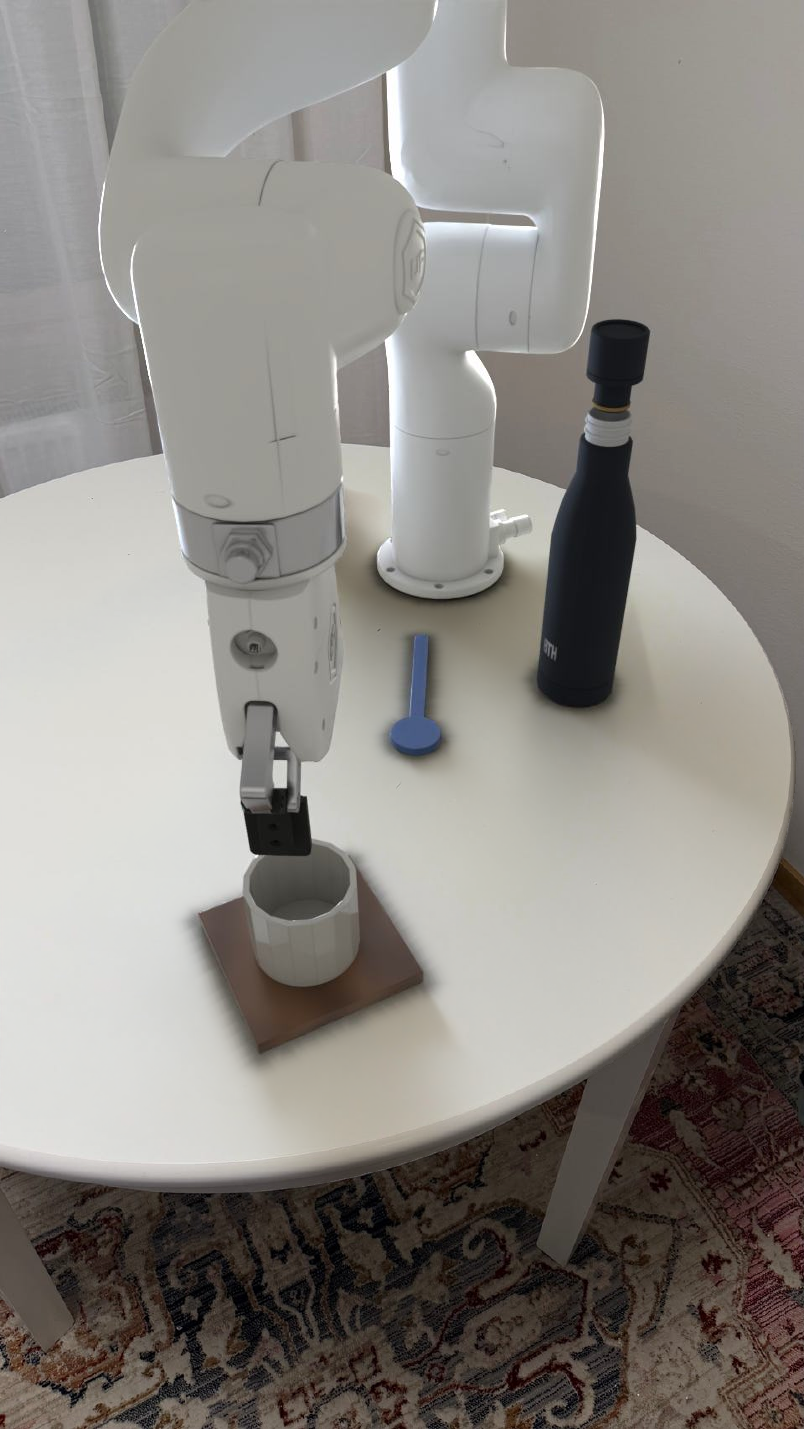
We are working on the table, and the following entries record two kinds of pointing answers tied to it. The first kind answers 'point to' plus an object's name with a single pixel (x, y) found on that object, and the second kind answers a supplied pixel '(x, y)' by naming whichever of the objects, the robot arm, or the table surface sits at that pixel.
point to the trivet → (300, 1010)
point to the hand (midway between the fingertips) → (293, 785)
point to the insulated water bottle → (594, 530)
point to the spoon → (417, 710)
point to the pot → (303, 914)
